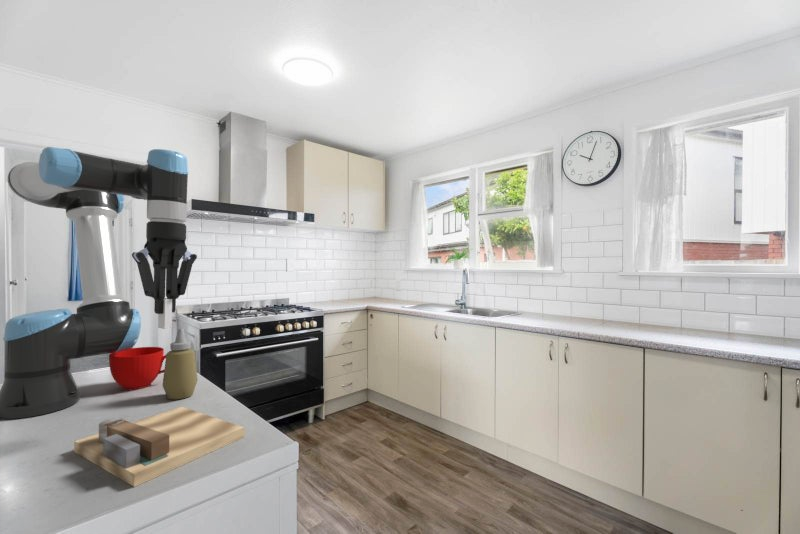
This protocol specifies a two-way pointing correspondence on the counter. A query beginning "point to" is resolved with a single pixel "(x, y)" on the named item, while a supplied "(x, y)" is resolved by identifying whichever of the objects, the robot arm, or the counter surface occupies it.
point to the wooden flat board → (186, 443)
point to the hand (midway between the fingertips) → (164, 327)
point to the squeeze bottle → (180, 369)
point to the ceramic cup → (136, 366)
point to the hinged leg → (136, 436)
